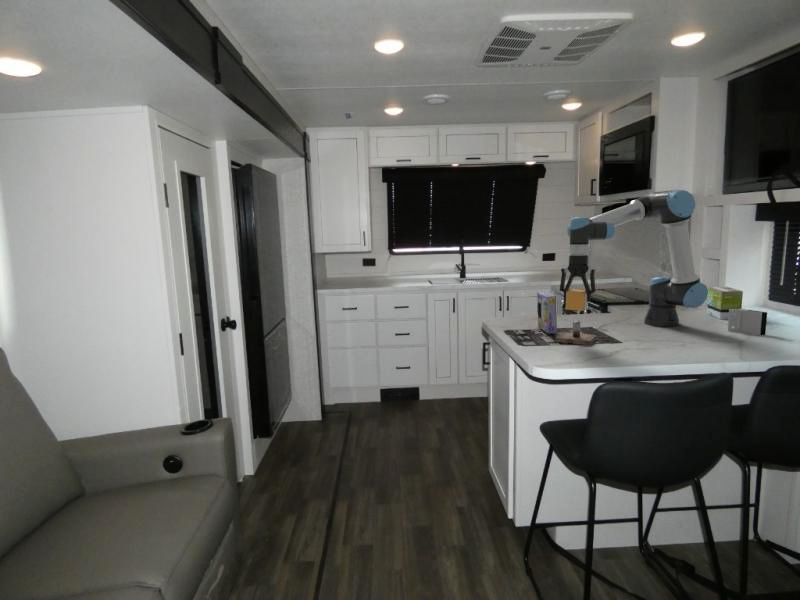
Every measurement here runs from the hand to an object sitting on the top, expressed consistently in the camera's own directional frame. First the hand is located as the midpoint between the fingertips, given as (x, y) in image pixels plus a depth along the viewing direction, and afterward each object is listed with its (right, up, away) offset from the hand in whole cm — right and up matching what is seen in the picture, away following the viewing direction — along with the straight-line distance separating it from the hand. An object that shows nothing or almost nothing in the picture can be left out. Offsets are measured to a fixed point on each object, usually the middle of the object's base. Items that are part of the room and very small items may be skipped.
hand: (576, 308), depth 210 cm
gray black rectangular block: (+79, -11, +9) cm, 80 cm away
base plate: (+1, -14, +2) cm, 14 cm away
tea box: (+92, -5, +44) cm, 102 cm away
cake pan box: (-5, -11, +25) cm, 28 cm away
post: (+1, -12, +2) cm, 12 cm away
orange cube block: (0, 0, 0) cm, 0 cm away
